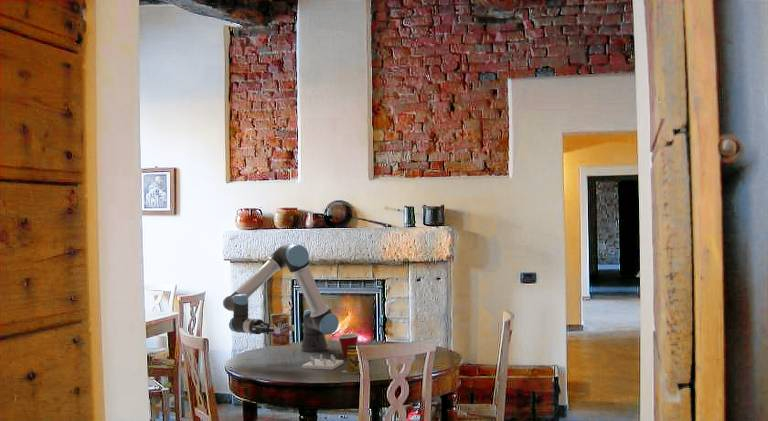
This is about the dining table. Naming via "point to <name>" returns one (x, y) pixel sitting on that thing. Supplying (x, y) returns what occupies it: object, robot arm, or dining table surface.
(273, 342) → the candy box
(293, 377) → the dining table surface
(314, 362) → the caddy tray
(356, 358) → the condiment
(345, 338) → the plastic cup
